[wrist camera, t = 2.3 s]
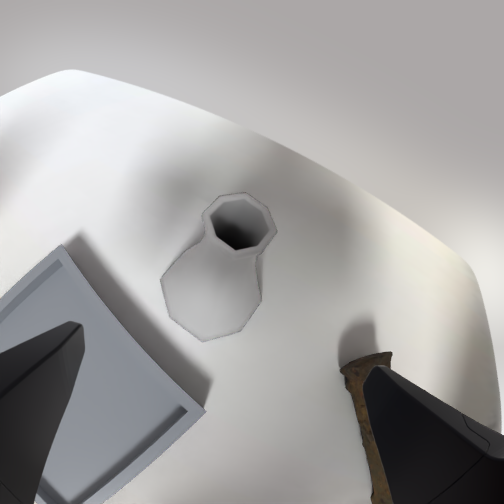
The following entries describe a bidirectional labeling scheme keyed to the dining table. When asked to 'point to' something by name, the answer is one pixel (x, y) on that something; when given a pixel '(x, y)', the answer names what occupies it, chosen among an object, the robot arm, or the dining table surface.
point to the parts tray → (96, 388)
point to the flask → (220, 269)
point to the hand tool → (356, 378)
